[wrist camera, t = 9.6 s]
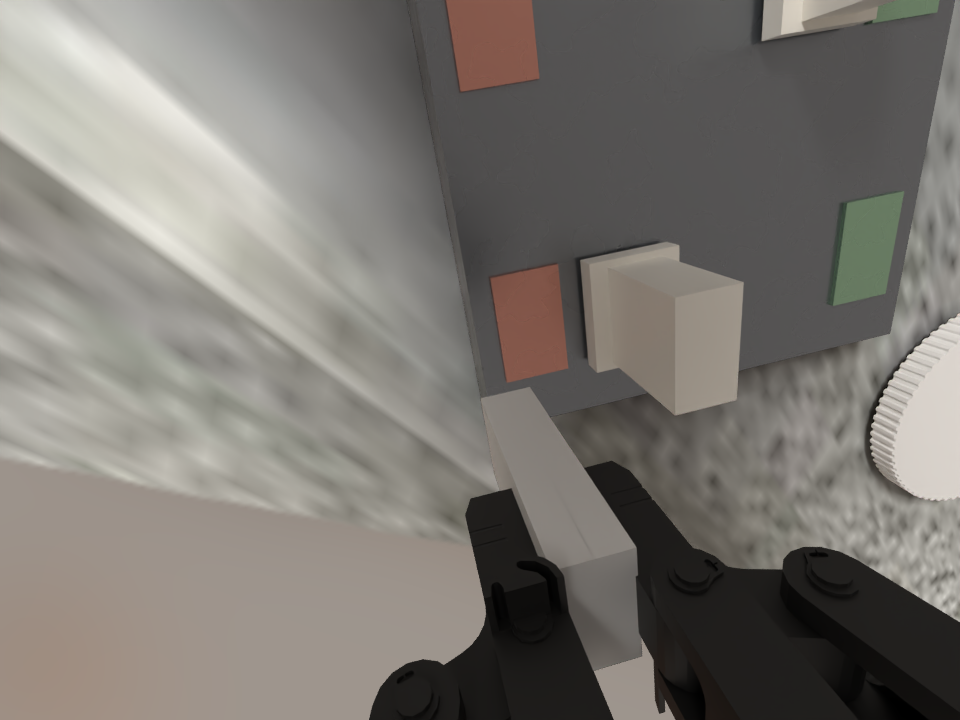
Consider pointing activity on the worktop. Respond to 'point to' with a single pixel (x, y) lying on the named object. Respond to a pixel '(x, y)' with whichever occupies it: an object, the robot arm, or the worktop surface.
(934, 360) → the plastic lid
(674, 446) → the worktop surface
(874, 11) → the lever
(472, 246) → the breaker box
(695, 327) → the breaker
